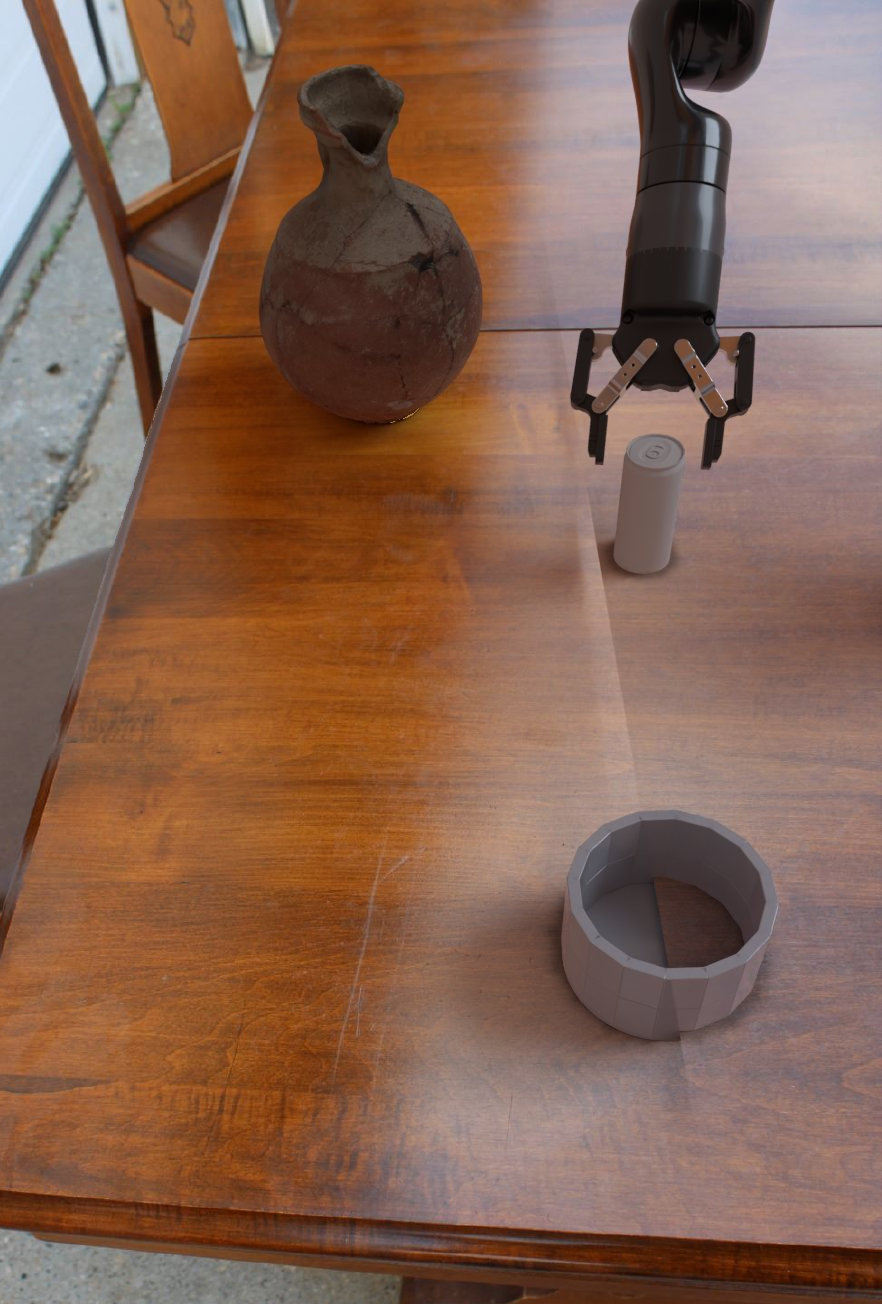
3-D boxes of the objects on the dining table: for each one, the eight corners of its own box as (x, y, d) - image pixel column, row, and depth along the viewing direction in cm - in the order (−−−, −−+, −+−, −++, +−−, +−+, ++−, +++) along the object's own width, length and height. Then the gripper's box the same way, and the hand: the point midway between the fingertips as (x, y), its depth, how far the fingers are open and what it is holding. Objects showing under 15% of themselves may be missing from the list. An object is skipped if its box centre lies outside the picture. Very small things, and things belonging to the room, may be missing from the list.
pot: (735, 876, 84) (755, 805, 78) (771, 1038, 76) (797, 975, 70) (553, 882, 85) (559, 814, 79) (571, 1043, 77) (578, 982, 71)
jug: (347, 493, 114) (310, 169, 91) (234, 396, 126) (176, 87, 103) (526, 405, 120) (535, 79, 97) (402, 320, 132) (384, 11, 109)
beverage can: (602, 575, 104) (614, 459, 95) (626, 543, 106) (640, 426, 97) (654, 593, 102) (671, 476, 93) (678, 559, 104) (697, 442, 95)
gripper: (583, 242, 94) (563, 455, 96) (773, 243, 91) (748, 462, 93) (584, 272, 101) (565, 469, 103) (760, 274, 98) (737, 477, 101)
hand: (652, 466), depth 98 cm, fingers open, 8 cm apart
